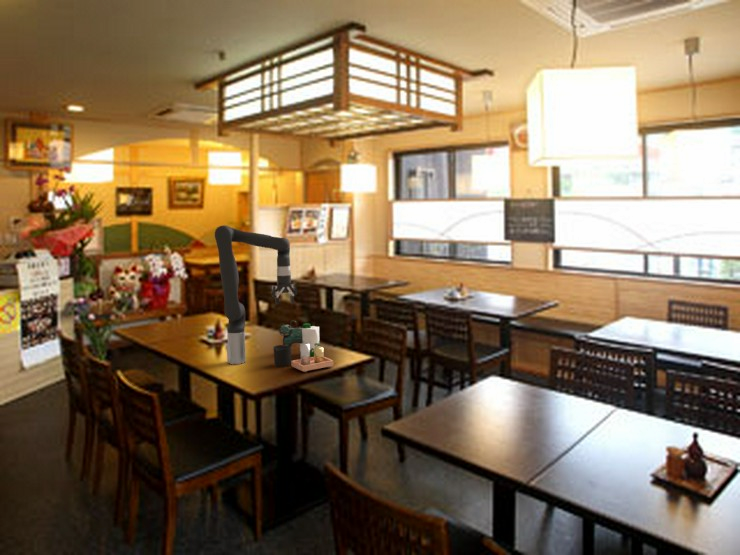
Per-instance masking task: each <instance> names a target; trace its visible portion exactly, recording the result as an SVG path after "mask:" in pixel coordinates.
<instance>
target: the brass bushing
mask: <svg viewBox="0 0 740 555" xmlns="http://www.w3.org/2000/svg"><path fill="white" fill-rule="evenodd" d="M324 352H325V351H324V346H321V345H320V346H317V347H314V363H321V362H324V357H325V355H324Z"/></svg>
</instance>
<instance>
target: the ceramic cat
mask: <svg viewBox="0 0 740 555" xmlns="http://www.w3.org/2000/svg"><path fill="white" fill-rule="evenodd" d="M292 322H294V323H297V321H296V320H291V321H290V325H289V324H284V323H281V326H280V327H279V335H280V336H282V337H283V339H282V345H283V346H291V347H292V346H293V344H301V343H303V336H302V328H303V325H301V326H297V327H293V326H292Z"/></svg>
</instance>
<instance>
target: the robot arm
mask: <svg viewBox="0 0 740 555" xmlns="http://www.w3.org/2000/svg"><path fill="white" fill-rule="evenodd" d="M214 239H215V242H216V246H217V252H218V262H219V271H220V272H219V274H220V279H221V285H222V286H221V287H222V291H223V298H224V300H223V302H224V315H225V317H226V318H227V320H228V324H227V327H226V330H227V345H226V360H227V363H228V364H229V363H230V365H231V364H232V365H241V363H242V364H245V363H246V362H247V360H246V359H247V358H246V357H247V356H246V355H247V354H246V337H245V336H246V334H245V332H246V331H245V328H246V327H245V326H246V308H245V306H244V304H243V303H241V302H240V301H239V296H238V293H239V292H238V291H239V282H240V281H239V279H240V277H239V270H238V264H237V261H236V258H235V255H234V251H233V243H242V244H246V245H250V246H255V247H259V248H265V249H270V250H271V249H272V250H276V251H277V257H276V281H277V282H276V284H277V285H271V297H273V298H274V301H275V302H274V303H275V305H277V306H279V305H280V298H279V297H280V296H281V295H282V294H285V293H286V294H287V293H288V294H289V297H290V298H289V299H290V300H289V302H290V303H291V304H294V301H295V296H297V295H298V286H297V284H296V283H293V284H292V272H291V271H292V270H291V259H290V258H291V256H290V255H291V253H290V252H291V251H290V250H291V249H290V248H291V243H290V240H289V239H288V238H286V237H278V236H277V237H276V236H272V235H269V234H264V233H257V232H250V231H243V230H241V229H236V228H233V227H231V226H230V225H225V224H224V225H219V226H218V227H216V229H215V231H214ZM291 288H292V289H291ZM276 290H277V291H276ZM244 362H245V363H244Z"/></svg>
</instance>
